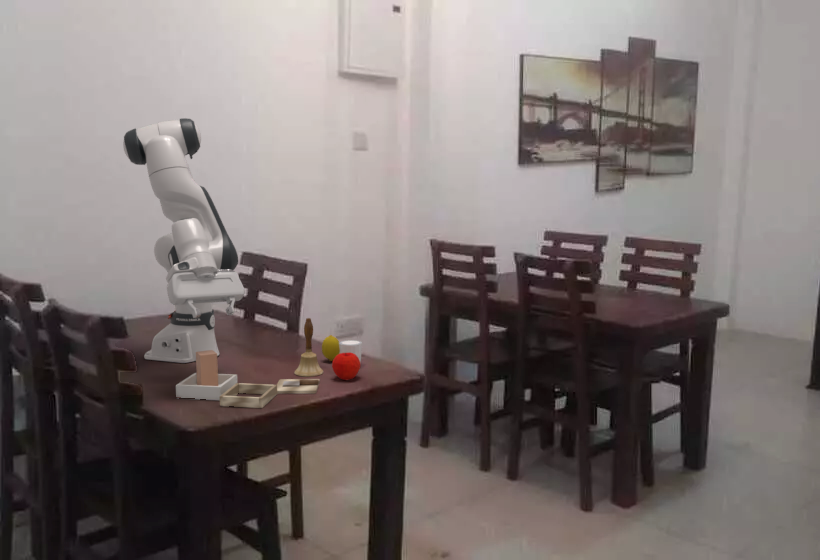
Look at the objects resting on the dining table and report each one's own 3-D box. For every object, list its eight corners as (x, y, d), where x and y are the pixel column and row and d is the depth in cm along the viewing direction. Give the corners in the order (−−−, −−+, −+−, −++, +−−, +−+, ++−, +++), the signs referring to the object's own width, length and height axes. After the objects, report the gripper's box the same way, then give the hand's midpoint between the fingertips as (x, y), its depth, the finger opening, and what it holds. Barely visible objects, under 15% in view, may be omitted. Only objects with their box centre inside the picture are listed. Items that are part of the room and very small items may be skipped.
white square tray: (176, 398, 215) (175, 385, 214) (195, 385, 226) (194, 372, 226) (220, 400, 213) (220, 387, 212) (237, 387, 225) (237, 374, 224)
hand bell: (327, 370, 242) (326, 316, 240) (318, 377, 234) (316, 321, 232) (300, 368, 244) (298, 314, 241) (290, 376, 236) (288, 320, 233)
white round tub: (339, 362, 250) (338, 339, 249) (362, 362, 251) (361, 339, 250) (339, 368, 244) (338, 345, 242) (362, 368, 244) (362, 344, 243)
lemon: (337, 363, 249) (337, 337, 248) (319, 362, 250) (319, 336, 249) (342, 359, 254) (342, 333, 253) (325, 358, 255) (324, 332, 254)
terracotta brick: (197, 388, 220) (195, 351, 219) (213, 386, 223) (212, 349, 221) (201, 393, 217) (200, 355, 215) (218, 390, 219) (217, 353, 217)
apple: (349, 373, 239) (349, 347, 238) (366, 378, 233) (366, 352, 232) (326, 378, 234) (326, 352, 232) (343, 384, 228) (343, 357, 226)
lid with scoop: (273, 393, 219) (273, 385, 218) (279, 382, 229) (279, 374, 229) (316, 393, 219) (316, 385, 218) (320, 381, 230) (320, 374, 229)
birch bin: (219, 406, 208) (219, 396, 208) (237, 392, 220) (236, 383, 220) (262, 408, 207) (261, 398, 206) (277, 394, 218) (277, 384, 218)
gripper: (231, 275, 230) (246, 318, 225) (159, 278, 217) (173, 324, 212) (240, 262, 226) (255, 306, 220) (167, 265, 213) (181, 311, 208)
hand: (214, 315), depth 216 cm, fingers open, 8 cm apart
